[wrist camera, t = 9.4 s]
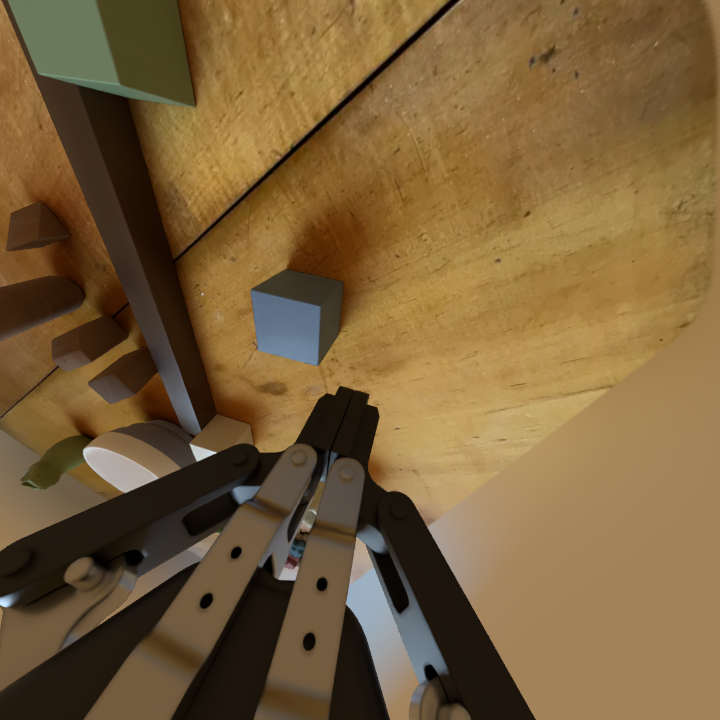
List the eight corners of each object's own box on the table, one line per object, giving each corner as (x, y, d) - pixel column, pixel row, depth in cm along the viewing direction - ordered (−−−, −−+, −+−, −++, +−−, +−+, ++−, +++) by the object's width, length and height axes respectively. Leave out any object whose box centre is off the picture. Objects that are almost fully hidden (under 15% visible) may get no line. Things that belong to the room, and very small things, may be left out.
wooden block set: (183, 354, 34) (137, 404, 25) (123, 378, 34) (57, 435, 25) (58, 201, 25) (-82, 195, 16) (-23, 234, 25) (-205, 246, 16)
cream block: (250, 424, 35) (225, 455, 31) (254, 446, 38) (232, 478, 34) (216, 414, 36) (188, 443, 32) (223, 436, 39) (198, 466, 35)
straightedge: (86, -43, 14) (14, -88, 12) (219, 421, 37) (203, 438, 34) (41, -46, 15) (-37, -90, 12) (199, 415, 37) (183, 431, 35)
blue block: (344, 281, 21) (321, 305, 17) (338, 335, 24) (318, 366, 20) (285, 268, 21) (250, 289, 17) (287, 322, 24) (257, 350, 20)
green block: (174, -22, 14) (65, -104, 10) (196, 108, 17) (120, 85, 13) (94, -28, 14) (-39, -108, 10) (129, 98, 17) (37, 74, 13)
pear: (71, 427, 51) (2, 473, 43) (91, 431, 50) (24, 480, 42) (88, 445, 54) (27, 492, 46) (108, 450, 53) (49, 499, 45)
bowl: (214, 476, 47) (181, 520, 41) (140, 441, 47) (95, 480, 40) (219, 433, 38) (177, 480, 32) (127, 389, 38) (67, 429, 32)
